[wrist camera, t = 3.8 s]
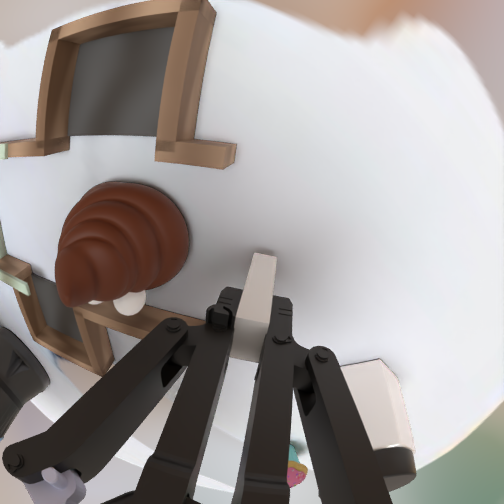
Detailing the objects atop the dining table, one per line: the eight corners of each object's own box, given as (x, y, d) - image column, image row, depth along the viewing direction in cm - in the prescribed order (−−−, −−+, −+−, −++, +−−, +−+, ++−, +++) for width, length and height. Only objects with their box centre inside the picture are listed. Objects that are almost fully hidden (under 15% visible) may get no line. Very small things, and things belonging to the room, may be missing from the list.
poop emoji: (196, 183, 17) (118, 237, 9) (192, 290, 21) (143, 380, 13) (83, 174, 18) (-7, 212, 10) (93, 267, 22) (28, 328, 13)
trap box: (22, 314, 28) (7, 329, 25) (-3, 70, 13) (-28, 72, 10) (208, 390, 27) (199, 419, 23) (259, 14, 12) (250, -14, 8)
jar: (317, 411, 26) (316, 504, 16) (310, 369, 23) (308, 488, 13) (393, 397, 24) (409, 487, 14) (401, 351, 21) (433, 463, 11)
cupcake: (241, 448, 34) (228, 513, 23) (267, 431, 30) (256, 510, 19) (288, 459, 34) (282, 521, 23) (320, 443, 30) (318, 515, 20)
